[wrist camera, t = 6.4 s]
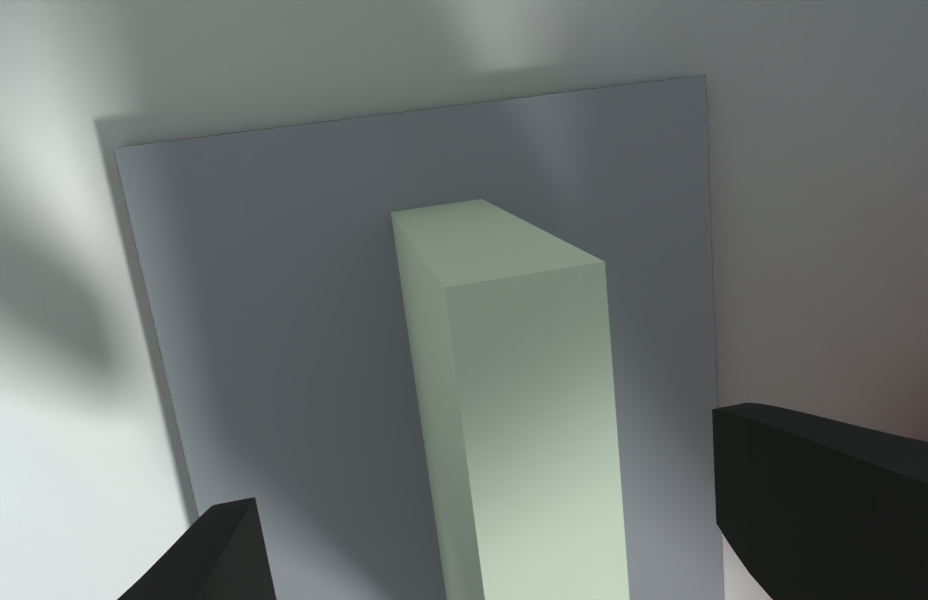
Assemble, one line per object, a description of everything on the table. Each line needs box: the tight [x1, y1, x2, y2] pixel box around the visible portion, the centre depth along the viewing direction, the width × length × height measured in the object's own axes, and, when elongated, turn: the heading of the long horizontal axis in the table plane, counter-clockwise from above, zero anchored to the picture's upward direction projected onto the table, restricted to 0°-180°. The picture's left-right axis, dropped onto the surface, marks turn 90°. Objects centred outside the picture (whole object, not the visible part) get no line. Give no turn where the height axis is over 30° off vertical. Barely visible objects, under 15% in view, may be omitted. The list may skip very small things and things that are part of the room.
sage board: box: [391, 199, 630, 600], centre depth 11 cm, size 2×9×6 cm, turn 7°
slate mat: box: [113, 75, 724, 600], centre depth 14 cm, size 10×12×1 cm
